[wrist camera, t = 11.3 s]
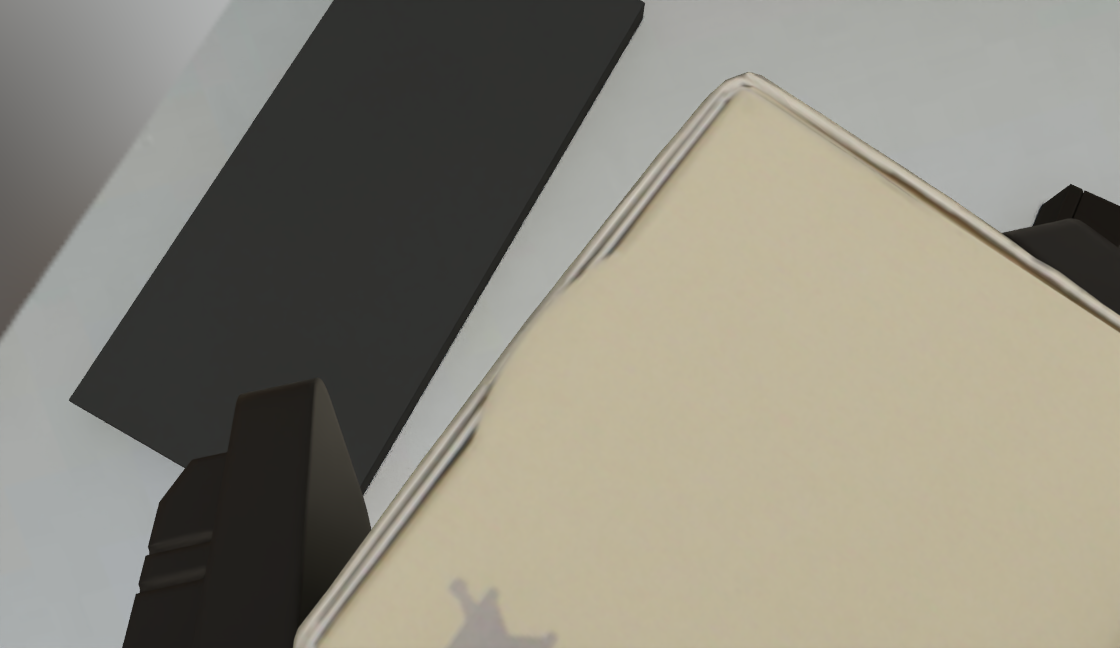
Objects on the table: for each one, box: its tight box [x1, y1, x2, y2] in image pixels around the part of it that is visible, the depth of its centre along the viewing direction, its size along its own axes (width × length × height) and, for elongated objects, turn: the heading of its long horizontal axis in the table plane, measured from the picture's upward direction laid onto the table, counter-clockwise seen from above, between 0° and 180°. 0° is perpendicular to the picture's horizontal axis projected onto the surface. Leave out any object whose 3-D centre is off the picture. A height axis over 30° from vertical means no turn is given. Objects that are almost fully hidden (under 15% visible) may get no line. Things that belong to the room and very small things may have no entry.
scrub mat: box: [69, 0, 645, 495], centre depth 33 cm, size 20×9×1 cm, turn 151°
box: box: [293, 72, 1120, 648], centre depth 13 cm, size 5×4×13 cm
